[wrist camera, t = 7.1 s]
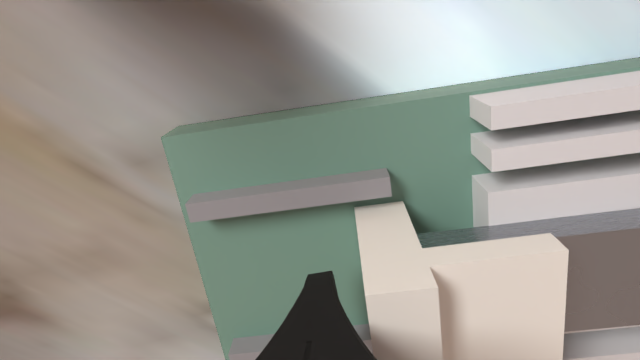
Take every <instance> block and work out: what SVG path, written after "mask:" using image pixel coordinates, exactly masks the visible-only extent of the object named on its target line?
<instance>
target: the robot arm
mask: <svg viewBox="0 0 640 360" xmlns="http://www.w3.org/2000/svg"><path fill="white" fill-rule="evenodd" d="M255 360H377V359H376V358H375V357H374V355H373V354H372V353H371V352H370V350H369V349H368V348H367V346H366V345H365V344H364V342H363V341H362V339H361V338H360V336H359V335H358V333H357V332H356V330H355V329H354V327H353V325H352V324H351V322H350V320H349V318H348V317H347V315H346V313H345V311H344V309H343V307H342V305H341V303H340V300H339V297H338V292H337V288H336V284H335V279H334V275H333V272H332V271H326V272H320V273H314V274H308V275H307V278H306V281H305V284H304V287H303V289H302V291H301V293H300V294H299V296H298V298H297V300H296V301H295V303H294V305H293V307H292V308H291V310H290V311H289V313H288V315H287V316H286V318H285V320H284V321H283V323H282V324H281V326H280V327H279V328H278V330H277V331H276V333H275V334H274V336H273V337H272V338H271V340H270V341H269V343H268V344H267V345H266V347H265V348H264V349H263V351H262V352H261V353H260V354H259V356H258V357H257V358H256V359H255Z"/></svg>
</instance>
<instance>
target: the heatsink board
mask: <svg viewBox="0 0 640 360" xmlns="http://www.w3.org/2000/svg"><path fill="white" fill-rule="evenodd" d="M161 140H162V143H163V147H164V150H165V154H166V157H167V160H168V164H169V167H170V171H171V174H172V178H173V181H174V184H175V188H176V191H177V195H178V198H179V202H180V205H181V208H182V212H183V215H184V219H185V222H186V226H187V229H188V232H189V236H190V239H191V243H192V246H193V250H194V253H195V256H196V260H197V263H198V267H199V270H200V274H201V277H202V280H203V284H204V287H205V291H206V294H207V298H208V301H209V304H210V308H211V311H212V315H213V318H214V322H215V325H216V328H217V332H218V335H219V339H220V342H221V346H222V349H223V352H224V356H225V359H226V360H255V359H256V358H257V357H258V356H259V354H260V353H261V352H262V351H263V349H264V348H265V347H266V345H267V344H268V343H269V341H270V340H271V338H272V337H273V336H274V334H275V333H276V331H277V330H278V328H279V327H280V326H281V324H282V323H283V321H284V320H285V318H286V316H287V315H288V313H289V311H290V310H291V308H292V307H293V305H294V303H295V301H296V300H297V298H298V296H299V294H300V293H301V291H302V289H303V287H304V284H305V281H306V278H307V275H308V274H314V273H320V272H326V271H332V272H333V275H334V279H335V284H336V288H337V292H338V297H339V300H340V303H341V305H342V307H343V309H344V311H345V313H346V315H347V317H348V318H349V320H350V322H351V324H352V325H353V327H354V329H355V330H356V332H357V333H358V335H359V336H360V338H361V339H362V341H363V342H364V344H365V345H366V346H367V348H368V349H369V350H370V352H371V353H372V354H373V350H372V342H371V335H370V328H369V321H368V313H367V306H366V299H365V291H364V283H363V275H362V267H361V259H360V251H359V242H358V234H357V226H356V218H355V210H354V207H361V206H368V205H376V204H384V203H391V202H399V201H403V202H404V205H405V207H406V210H407V212H408V215H409V217H410V220H411V222H412V225H413V227H414V229H415V232H416V234H421V233H430V232H438V231H447V230H456V229H464V228H473V227H481V226H493V225H501V224H509V223H518V222H526V221H534V220H542V219H550V218H559V217H567V216H576V215H585V214H593V213H602V212H610V211H619V210H628V209H636V208H640V57H638V58H632V59H625V60H618V61H612V62H605V63H598V64H591V65H585V66H578V67H571V68H565V69H558V70H551V71H545V72H538V73H531V74H524V75H518V76H511V77H504V78H498V79H491V80H484V81H478V82H471V83H464V84H457V85H451V86H444V87H437V88H431V89H424V90H417V91H411V92H404V93H397V94H390V95H384V96H377V97H370V98H364V99H357V100H350V101H344V102H337V103H330V104H323V105H317V106H310V107H303V108H297V109H290V110H283V111H277V112H270V113H263V114H256V115H250V116H243V117H236V118H230V119H223V120H216V121H210V122H203V123H196V124H189V125H183V126H178V127H176V128H175V129H173V130H172V131H170V132H169V133H167V134H166V135H164V136H162V137H161ZM563 360H640V325H634V326H623V327H612V328H601V329H591V330H580V331H569V332H564V344H563Z"/></svg>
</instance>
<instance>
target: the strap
mask: <svg viewBox="0 0 640 360" xmlns="http://www.w3.org/2000/svg"><path fill="white" fill-rule="evenodd" d="M546 233H551V234H552V235H553V236H554V237H555V238H557V239H558V240H559V241H560V242H561V243H562V244H563V245H564V246H565V247H566V248H567V249H568V250H569V255H568V273H567V291H566V308H565V326H564V332H569V331H580V330H591V329H601V328H612V327H623V326H634V325H640V208H636V209H628V210H619V211H610V212H602V213H593V214H585V215H576V216H567V217H559V218H550V219H542V220H534V221H526V222H518V223H509V224H501V225H493V226H481V227H473V228H464V229H456V230H447V231H438V232H430V233H421V234H417V237H418V239H419V242H420V244H421V247H422V248H430V247H438V246H446V245H455V244H463V243H471V242H480V241H488V240H496V239H505V238H513V237H521V236H530V235H538V234H546Z"/></svg>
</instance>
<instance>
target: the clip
mask: <svg viewBox="0 0 640 360" xmlns="http://www.w3.org/2000/svg"><path fill="white" fill-rule="evenodd" d="M354 210H355V218H356V226H357V234H358V242H359V251H360V259H361V267H362V275H363V283H364V291H365V299H366V306H367V313H368V321H369V328H370V335H371V342H372V350H373V355H374V357H375V358H376V359H377V360H563V344H564V326H565V308H566V291H567V273H568V255H569V250H568V249H567V248H566V247H565V246H564V245H563V244H562V243H561V242H560V241H559V240H558V239H557V238H555V237H554V236H553V235H552V234H551V233H546V234H538V235H530V236H521V237H513V238H505V239H496V240H488V241H480V242H471V243H463V244H455V245H446V246H438V247H430V248H422V247H421V244H420V242H419V239H418V237H417V234H416V232H415V229H414V227H413V225H412V222H411V220H410V217H409V215H408V212H407V210H406V207H405V205H404V202H403V201H399V202H391V203H384V204H376V205H368V206H361V207H354Z"/></svg>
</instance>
